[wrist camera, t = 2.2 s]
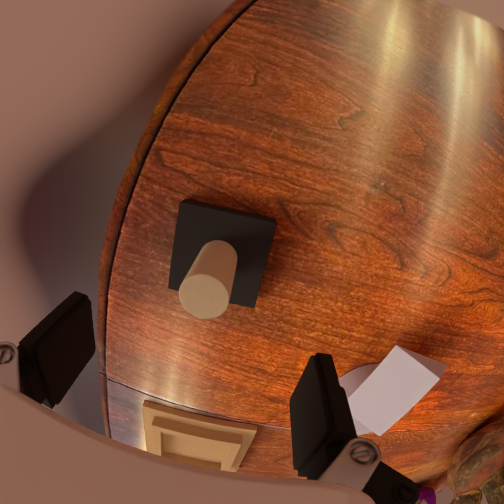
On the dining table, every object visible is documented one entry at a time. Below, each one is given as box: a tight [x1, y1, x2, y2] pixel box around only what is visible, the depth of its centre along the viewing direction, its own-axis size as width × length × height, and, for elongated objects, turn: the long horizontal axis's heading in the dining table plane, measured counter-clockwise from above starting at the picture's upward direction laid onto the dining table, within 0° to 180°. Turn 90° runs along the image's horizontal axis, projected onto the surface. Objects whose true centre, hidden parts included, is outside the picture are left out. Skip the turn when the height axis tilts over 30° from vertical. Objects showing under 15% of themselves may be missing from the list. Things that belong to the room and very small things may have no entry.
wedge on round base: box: [338, 345, 448, 436], centre depth 23 cm, size 9×7×13 cm
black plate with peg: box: [168, 199, 277, 319], centre depth 18 cm, size 7×7×8 cm
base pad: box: [142, 400, 257, 472], centre depth 30 cm, size 14×14×2 cm
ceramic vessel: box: [447, 419, 504, 504], centre depth 23 cm, size 17×26×25 cm, turn 161°
